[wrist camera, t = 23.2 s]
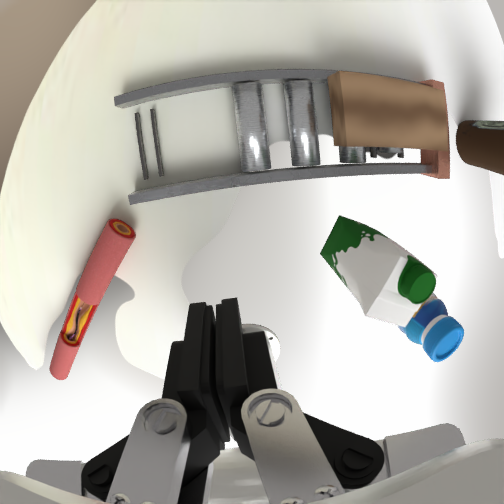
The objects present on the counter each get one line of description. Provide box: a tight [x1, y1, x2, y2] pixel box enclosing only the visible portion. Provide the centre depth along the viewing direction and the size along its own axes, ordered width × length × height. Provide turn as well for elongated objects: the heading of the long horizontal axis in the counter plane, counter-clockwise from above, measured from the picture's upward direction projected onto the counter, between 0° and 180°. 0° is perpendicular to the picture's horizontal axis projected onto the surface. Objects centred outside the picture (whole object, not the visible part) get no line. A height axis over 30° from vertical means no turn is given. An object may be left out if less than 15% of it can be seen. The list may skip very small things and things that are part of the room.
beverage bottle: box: [398, 293, 464, 362], centre depth 40 cm, size 8×8×20 cm
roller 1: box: [232, 82, 271, 172], centre depth 34 cm, size 12×4×4 cm, turn 6°
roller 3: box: [339, 146, 366, 163], centre depth 35 cm, size 12×4×4 cm, turn 6°
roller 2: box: [283, 80, 320, 166], centre depth 35 cm, size 12×4×4 cm, turn 6°
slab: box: [327, 71, 448, 151], centre depth 31 cm, size 10×19×4 cm, turn 96°
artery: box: [50, 219, 136, 380], centre depth 43 cm, size 42×5×5 cm, turn 142°
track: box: [114, 69, 450, 205], centre depth 34 cm, size 17×51×5 cm, turn 96°
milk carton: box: [320, 216, 437, 327], centre depth 35 cm, size 9×9×20 cm
